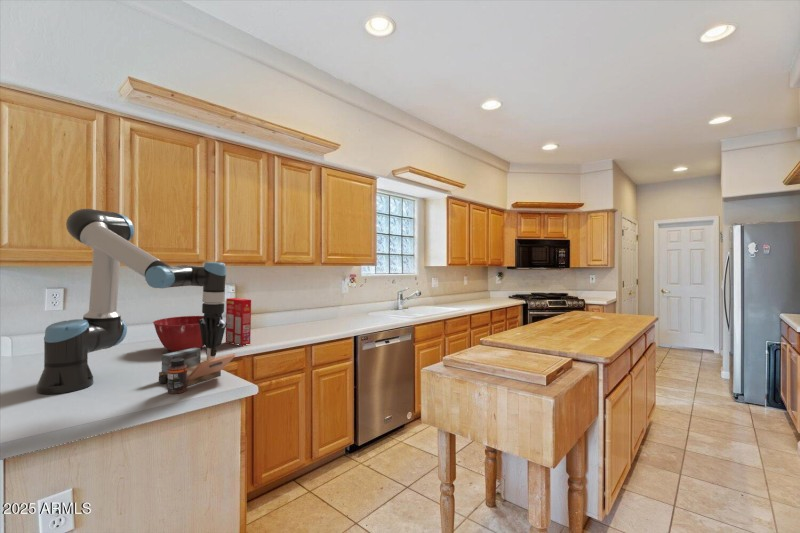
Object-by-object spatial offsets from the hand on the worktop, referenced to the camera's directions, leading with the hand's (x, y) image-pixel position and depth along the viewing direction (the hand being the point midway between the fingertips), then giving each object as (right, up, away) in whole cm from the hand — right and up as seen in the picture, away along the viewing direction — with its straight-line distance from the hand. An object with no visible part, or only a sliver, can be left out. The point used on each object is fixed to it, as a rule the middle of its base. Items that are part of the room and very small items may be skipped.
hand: (210, 364), depth 143 cm
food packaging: (-19, -6, +67) cm, 70 cm away
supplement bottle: (-7, -7, -10) cm, 14 cm away
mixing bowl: (-39, -6, +51) cm, 64 cm away
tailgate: (-3, -4, +1) cm, 5 cm away
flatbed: (-10, -7, +4) cm, 13 cm away
